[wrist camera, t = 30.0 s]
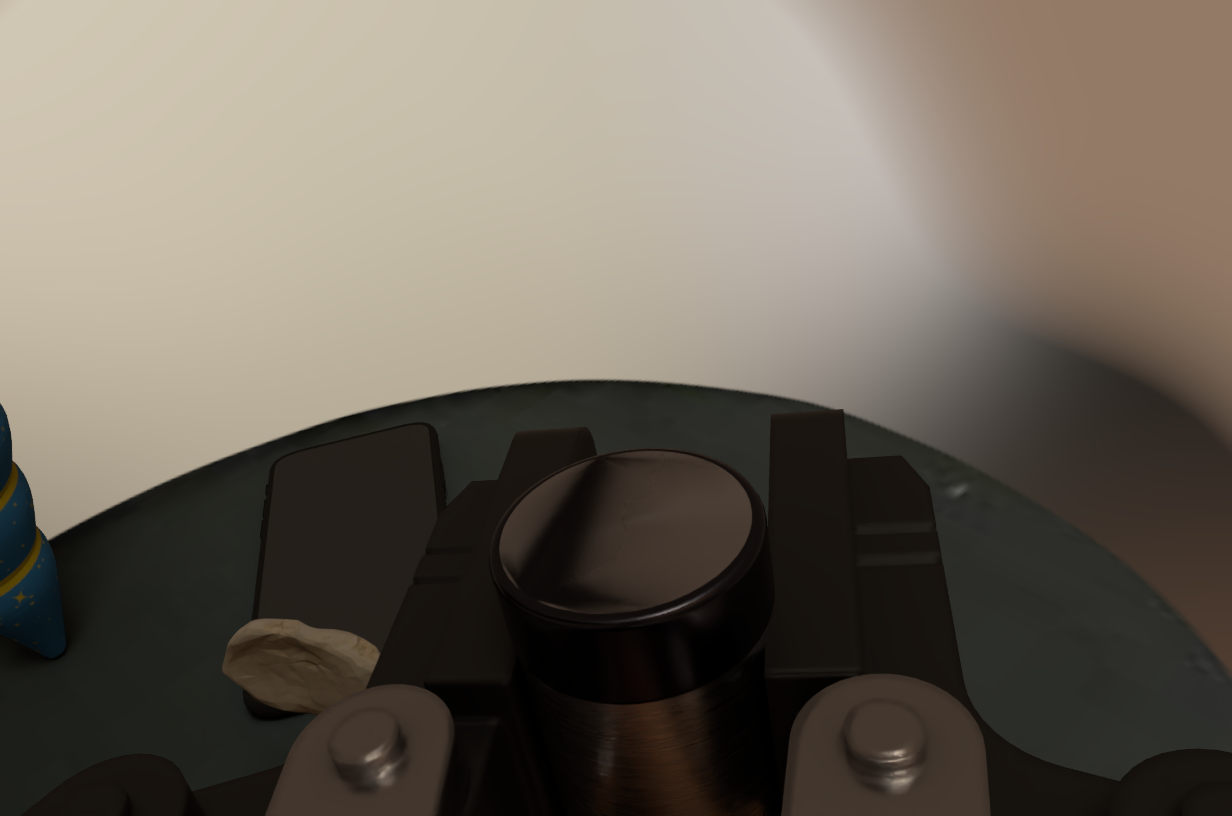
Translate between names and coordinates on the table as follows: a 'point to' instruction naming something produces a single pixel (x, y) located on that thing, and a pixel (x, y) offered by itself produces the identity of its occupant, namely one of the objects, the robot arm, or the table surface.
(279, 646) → the bone
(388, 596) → the smartphone
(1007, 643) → the table surface
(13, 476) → the ornament
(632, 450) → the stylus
